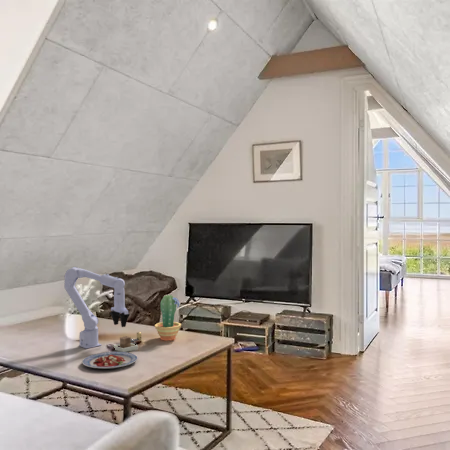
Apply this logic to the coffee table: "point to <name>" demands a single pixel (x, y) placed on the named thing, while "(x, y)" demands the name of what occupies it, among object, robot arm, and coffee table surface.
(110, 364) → the ceramic plate
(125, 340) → the block
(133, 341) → the brass cylinder knob
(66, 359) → the coffee table surface
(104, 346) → the coffee table surface
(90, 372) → the coffee table surface
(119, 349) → the tray
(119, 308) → the robot arm
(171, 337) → the potted cactus
